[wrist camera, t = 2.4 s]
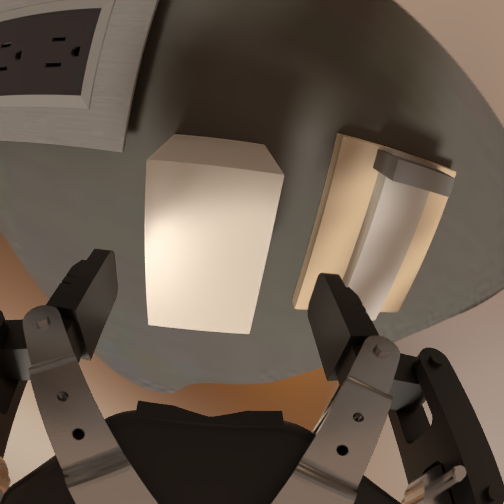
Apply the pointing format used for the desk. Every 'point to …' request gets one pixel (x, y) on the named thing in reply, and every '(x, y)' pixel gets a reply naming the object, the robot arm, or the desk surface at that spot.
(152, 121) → the desk surface
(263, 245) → the white rectangular block
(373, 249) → the rail board
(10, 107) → the electrical outlet
